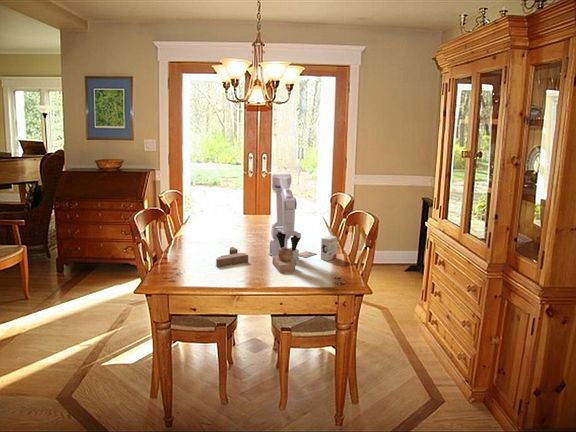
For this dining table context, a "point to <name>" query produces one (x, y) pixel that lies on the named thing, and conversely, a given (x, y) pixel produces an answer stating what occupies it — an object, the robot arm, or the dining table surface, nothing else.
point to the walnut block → (285, 254)
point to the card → (306, 254)
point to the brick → (283, 265)
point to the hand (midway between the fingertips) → (287, 249)
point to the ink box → (328, 248)
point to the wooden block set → (232, 258)
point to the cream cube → (295, 254)
